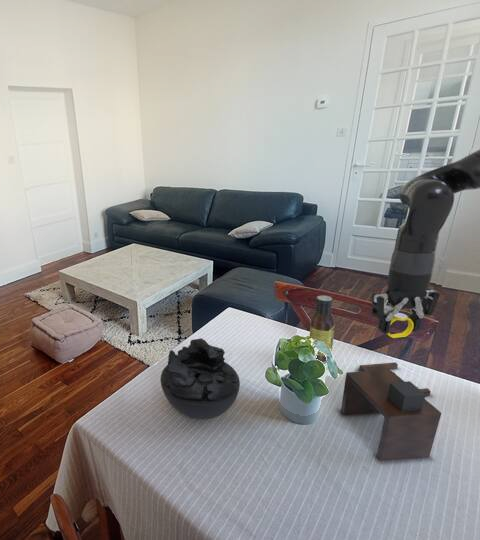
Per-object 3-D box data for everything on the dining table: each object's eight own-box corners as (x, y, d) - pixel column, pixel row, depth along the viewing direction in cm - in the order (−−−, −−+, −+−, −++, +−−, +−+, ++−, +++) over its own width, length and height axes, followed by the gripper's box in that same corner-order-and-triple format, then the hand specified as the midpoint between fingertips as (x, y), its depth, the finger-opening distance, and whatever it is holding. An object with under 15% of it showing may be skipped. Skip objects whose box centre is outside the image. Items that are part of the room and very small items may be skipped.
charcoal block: (406, 396, 71) (409, 381, 70) (421, 410, 68) (425, 394, 66) (386, 398, 72) (389, 382, 70) (401, 412, 68) (404, 396, 66)
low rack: (394, 366, 97) (395, 362, 97) (429, 395, 86) (431, 390, 85) (358, 369, 98) (359, 365, 97) (389, 398, 86) (390, 394, 86)
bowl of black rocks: (243, 391, 95) (244, 333, 88) (234, 447, 78) (234, 381, 72) (174, 377, 103) (170, 324, 97) (152, 426, 87) (146, 365, 80)
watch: (405, 332, 84) (410, 311, 82) (413, 338, 82) (418, 317, 80) (380, 334, 85) (383, 313, 83) (387, 340, 82) (391, 318, 80)
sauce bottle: (334, 361, 102) (342, 303, 95) (312, 361, 103) (318, 303, 96) (325, 349, 108) (332, 293, 101) (304, 349, 109) (309, 294, 102)
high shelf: (381, 408, 84) (389, 368, 80) (429, 457, 71) (441, 413, 67) (340, 411, 84) (346, 372, 80) (380, 461, 71) (389, 416, 67)
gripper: (390, 276, 74) (378, 341, 80) (459, 270, 73) (441, 336, 79) (367, 265, 81) (357, 325, 87) (430, 259, 80) (416, 321, 86)
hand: (397, 330), depth 83 cm, fingers closed on watch, 6 cm apart
